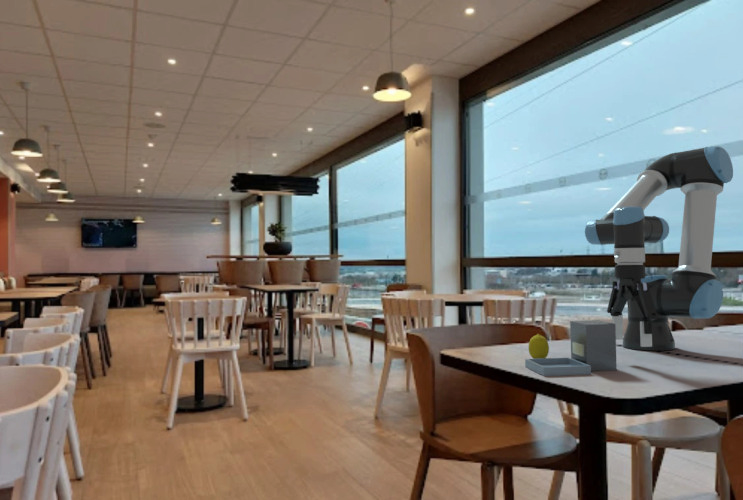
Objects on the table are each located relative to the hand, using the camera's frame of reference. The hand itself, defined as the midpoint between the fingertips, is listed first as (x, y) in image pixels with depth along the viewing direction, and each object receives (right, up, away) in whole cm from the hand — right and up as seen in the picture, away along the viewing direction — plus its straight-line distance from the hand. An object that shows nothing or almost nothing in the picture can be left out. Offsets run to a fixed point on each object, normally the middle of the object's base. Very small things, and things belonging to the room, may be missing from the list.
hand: (631, 342), depth 148 cm
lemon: (-23, -7, +8) cm, 25 cm away
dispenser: (-11, -6, -1) cm, 13 cm away
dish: (-21, -7, -4) cm, 23 cm away
